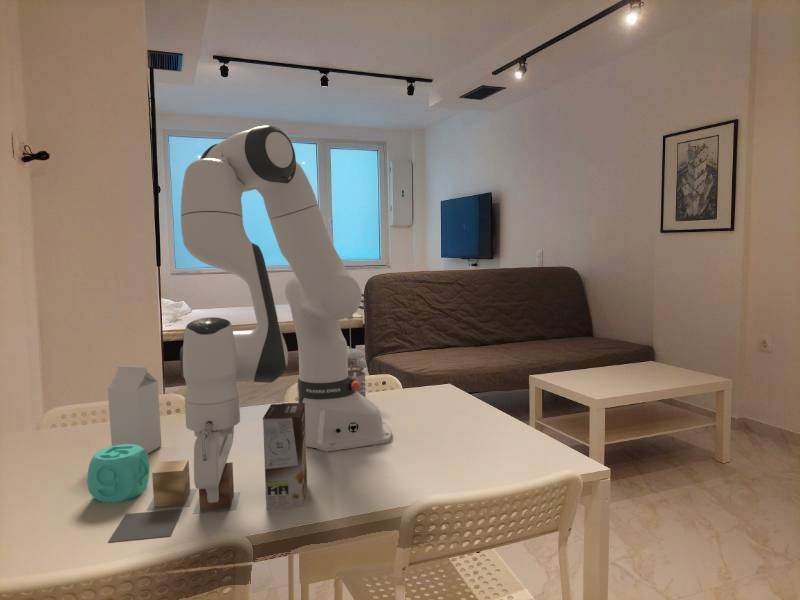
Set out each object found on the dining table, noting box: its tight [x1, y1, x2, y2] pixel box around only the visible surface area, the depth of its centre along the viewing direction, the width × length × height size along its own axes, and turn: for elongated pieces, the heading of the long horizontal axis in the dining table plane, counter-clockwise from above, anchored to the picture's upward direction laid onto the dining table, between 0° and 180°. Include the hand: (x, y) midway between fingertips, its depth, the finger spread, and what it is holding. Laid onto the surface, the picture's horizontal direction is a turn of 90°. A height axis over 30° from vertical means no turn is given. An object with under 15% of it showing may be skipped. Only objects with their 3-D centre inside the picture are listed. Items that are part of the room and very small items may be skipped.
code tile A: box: [192, 491, 241, 515], centre depth 98 cm, size 7×7×1 cm
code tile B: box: [146, 488, 198, 511], centre depth 100 cm, size 7×7×1 cm
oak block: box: [151, 459, 191, 507], centre depth 99 cm, size 5×5×6 cm
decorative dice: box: [86, 444, 150, 503], centre depth 103 cm, size 8×8×8 cm
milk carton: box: [107, 365, 162, 455], centre depth 123 cm, size 7×7×19 cm
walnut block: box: [198, 461, 235, 510], centre depth 98 cm, size 5×5×6 cm
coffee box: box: [262, 402, 308, 510], centre depth 99 cm, size 9×6×16 cm
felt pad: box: [107, 508, 183, 544], centre depth 91 cm, size 9×9×1 cm
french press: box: [346, 315, 367, 398], centre depth 160 cm, size 10×12×25 cm
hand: (216, 491), depth 98 cm, fingers open, 6 cm apart
